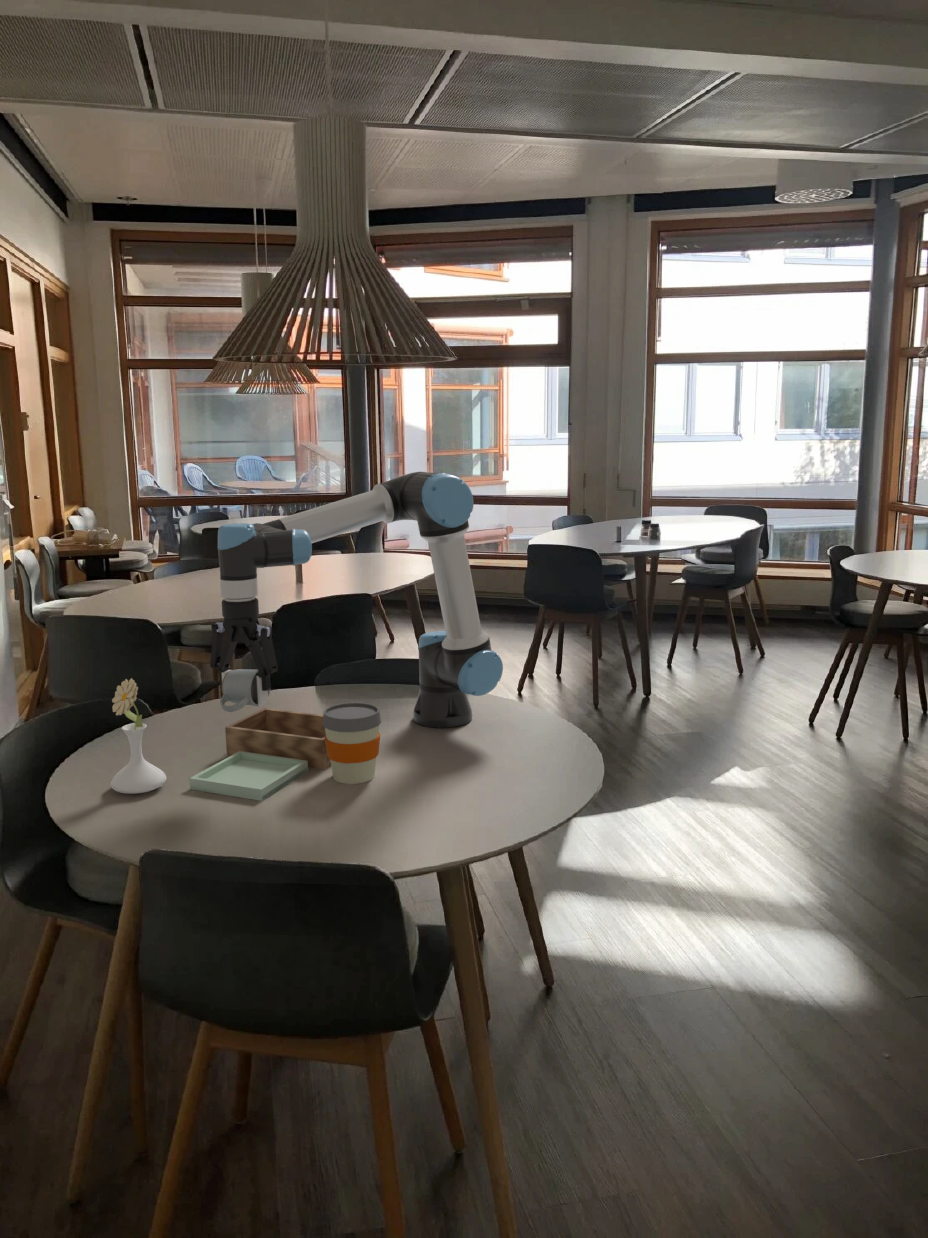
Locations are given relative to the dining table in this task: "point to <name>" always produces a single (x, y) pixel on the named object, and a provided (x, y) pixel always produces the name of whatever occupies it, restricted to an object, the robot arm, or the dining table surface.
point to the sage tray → (249, 775)
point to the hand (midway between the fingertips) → (245, 702)
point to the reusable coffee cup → (352, 741)
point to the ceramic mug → (240, 689)
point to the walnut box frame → (280, 736)
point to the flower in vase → (134, 747)
